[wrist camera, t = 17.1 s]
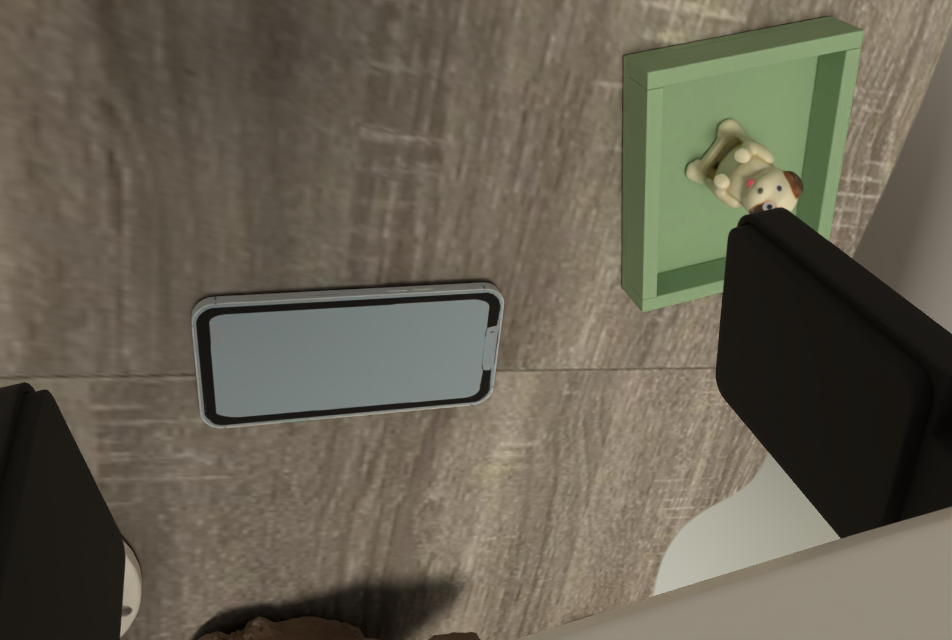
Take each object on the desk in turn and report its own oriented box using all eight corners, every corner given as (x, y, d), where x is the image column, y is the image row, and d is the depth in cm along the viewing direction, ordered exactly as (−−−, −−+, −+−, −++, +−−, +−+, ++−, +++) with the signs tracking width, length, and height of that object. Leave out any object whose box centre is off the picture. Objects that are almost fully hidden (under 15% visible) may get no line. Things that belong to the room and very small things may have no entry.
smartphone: (189, 303, 38) (506, 286, 42) (189, 294, 39) (501, 278, 43) (201, 431, 42) (491, 404, 46) (201, 420, 43) (487, 395, 47)
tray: (797, 245, 48) (825, 267, 46) (621, 287, 46) (642, 313, 44) (830, 15, 40) (865, 29, 38) (622, 54, 39) (647, 72, 37)
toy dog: (725, 108, 41) (783, 147, 37) (774, 166, 44) (834, 208, 40) (672, 162, 42) (723, 206, 38) (724, 216, 44) (777, 262, 40)
